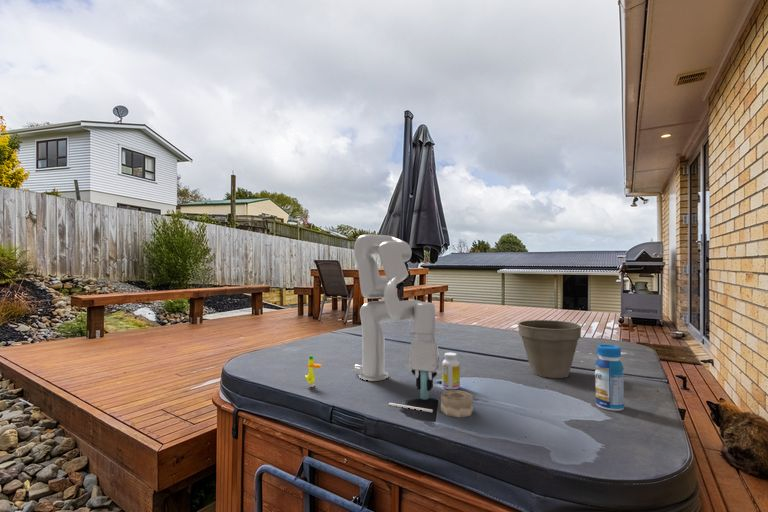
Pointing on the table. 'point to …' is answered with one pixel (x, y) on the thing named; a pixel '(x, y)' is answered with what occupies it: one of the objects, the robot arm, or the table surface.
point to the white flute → (411, 407)
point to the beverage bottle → (609, 378)
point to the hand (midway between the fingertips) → (424, 388)
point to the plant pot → (550, 346)
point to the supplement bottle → (451, 372)
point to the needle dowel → (424, 385)
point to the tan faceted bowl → (457, 403)
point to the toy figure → (311, 369)
